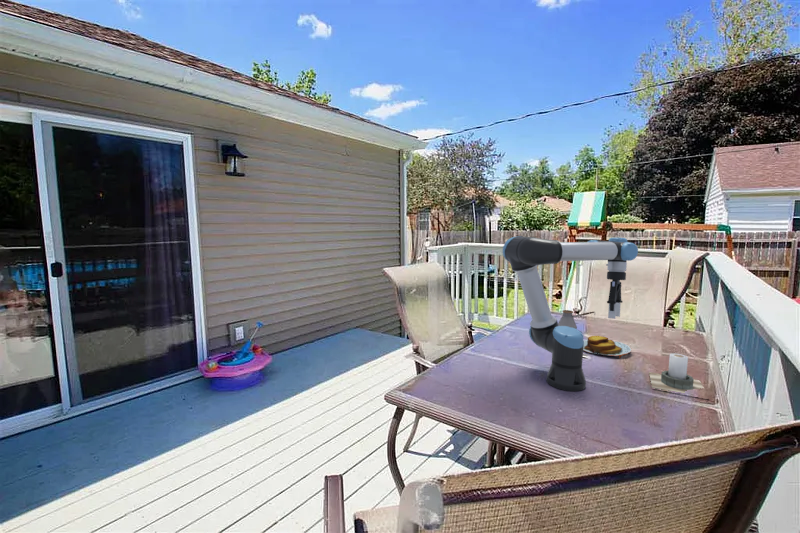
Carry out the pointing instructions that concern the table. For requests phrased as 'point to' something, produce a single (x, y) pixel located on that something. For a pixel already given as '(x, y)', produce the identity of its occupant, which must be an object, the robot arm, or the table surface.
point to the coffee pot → (569, 319)
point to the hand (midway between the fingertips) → (614, 317)
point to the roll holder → (673, 382)
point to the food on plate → (605, 346)
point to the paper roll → (678, 366)
